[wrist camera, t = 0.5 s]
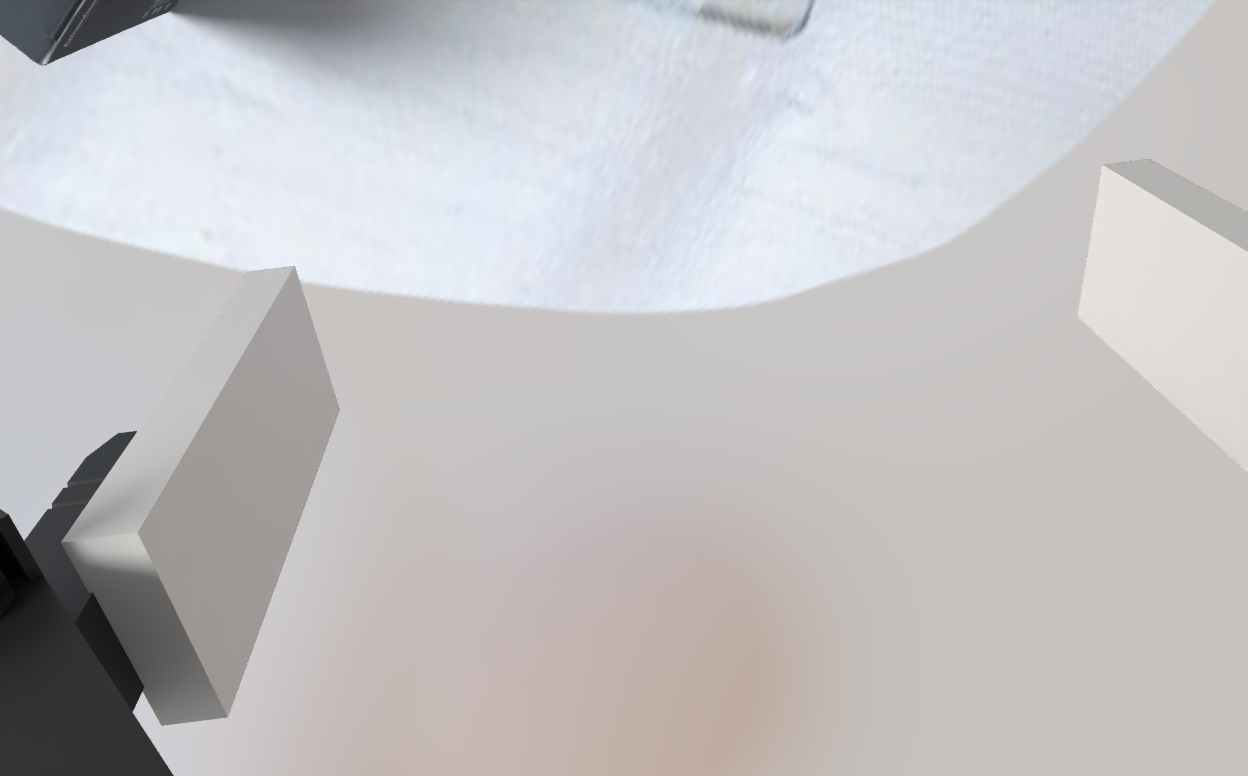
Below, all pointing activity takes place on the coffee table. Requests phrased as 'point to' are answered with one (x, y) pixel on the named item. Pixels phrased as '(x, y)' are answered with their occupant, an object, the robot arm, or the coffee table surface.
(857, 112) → the coffee table surface
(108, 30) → the box
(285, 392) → the robot arm
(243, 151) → the coffee table surface
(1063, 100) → the coffee table surface
